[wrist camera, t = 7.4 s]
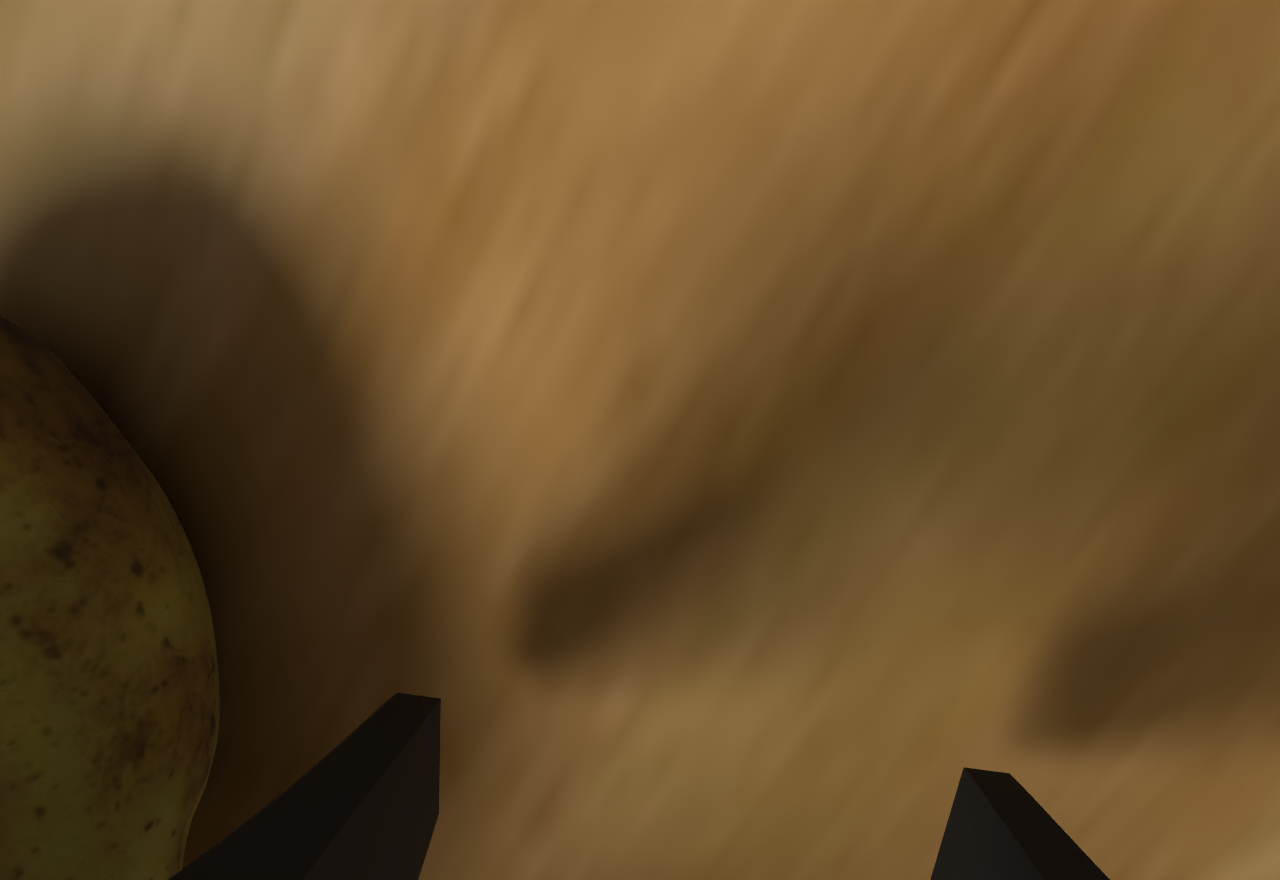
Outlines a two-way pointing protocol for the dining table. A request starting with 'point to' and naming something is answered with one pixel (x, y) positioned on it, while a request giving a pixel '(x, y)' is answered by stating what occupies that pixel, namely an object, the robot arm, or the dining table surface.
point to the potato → (93, 641)
